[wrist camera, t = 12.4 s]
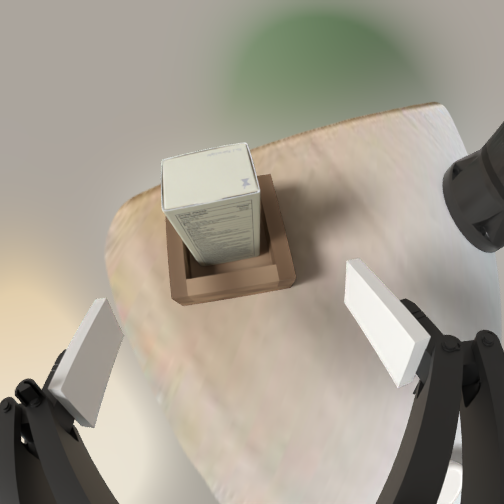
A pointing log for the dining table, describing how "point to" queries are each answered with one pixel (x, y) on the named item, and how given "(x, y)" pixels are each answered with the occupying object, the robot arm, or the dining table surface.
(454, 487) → the white round piece
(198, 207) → the skincare box
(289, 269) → the holder
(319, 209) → the dining table surface
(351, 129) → the dining table surface
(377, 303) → the robot arm
